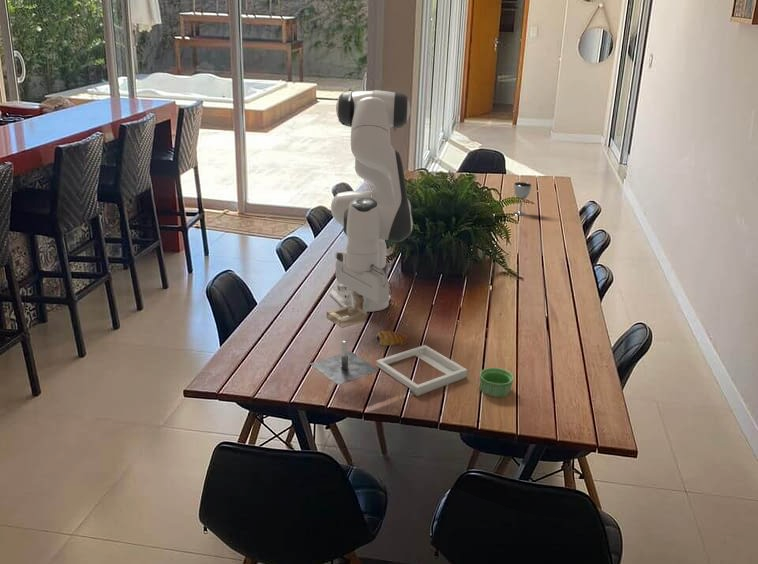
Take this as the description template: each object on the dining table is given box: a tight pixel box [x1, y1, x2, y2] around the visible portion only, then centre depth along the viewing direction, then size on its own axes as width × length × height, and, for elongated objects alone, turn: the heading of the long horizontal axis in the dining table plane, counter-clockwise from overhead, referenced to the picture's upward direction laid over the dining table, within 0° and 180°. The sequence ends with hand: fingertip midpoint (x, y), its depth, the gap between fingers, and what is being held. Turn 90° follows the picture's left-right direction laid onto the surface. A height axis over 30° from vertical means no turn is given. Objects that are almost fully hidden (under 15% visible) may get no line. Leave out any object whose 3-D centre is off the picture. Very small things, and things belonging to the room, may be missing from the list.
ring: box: [326, 295, 368, 329], centre depth 192 cm, size 8×10×6 cm
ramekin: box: [479, 367, 515, 398], centre depth 190 cm, size 9×9×4 cm
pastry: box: [375, 330, 408, 347], centre depth 214 cm, size 9×7×4 cm
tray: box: [375, 344, 468, 397], centre depth 197 cm, size 18×18×2 cm
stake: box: [309, 339, 380, 386], centre depth 196 cm, size 14×14×9 cm
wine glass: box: [512, 181, 532, 217], centre depth 349 cm, size 8×8×15 cm
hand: (361, 307), depth 194 cm, fingers closed on ring
